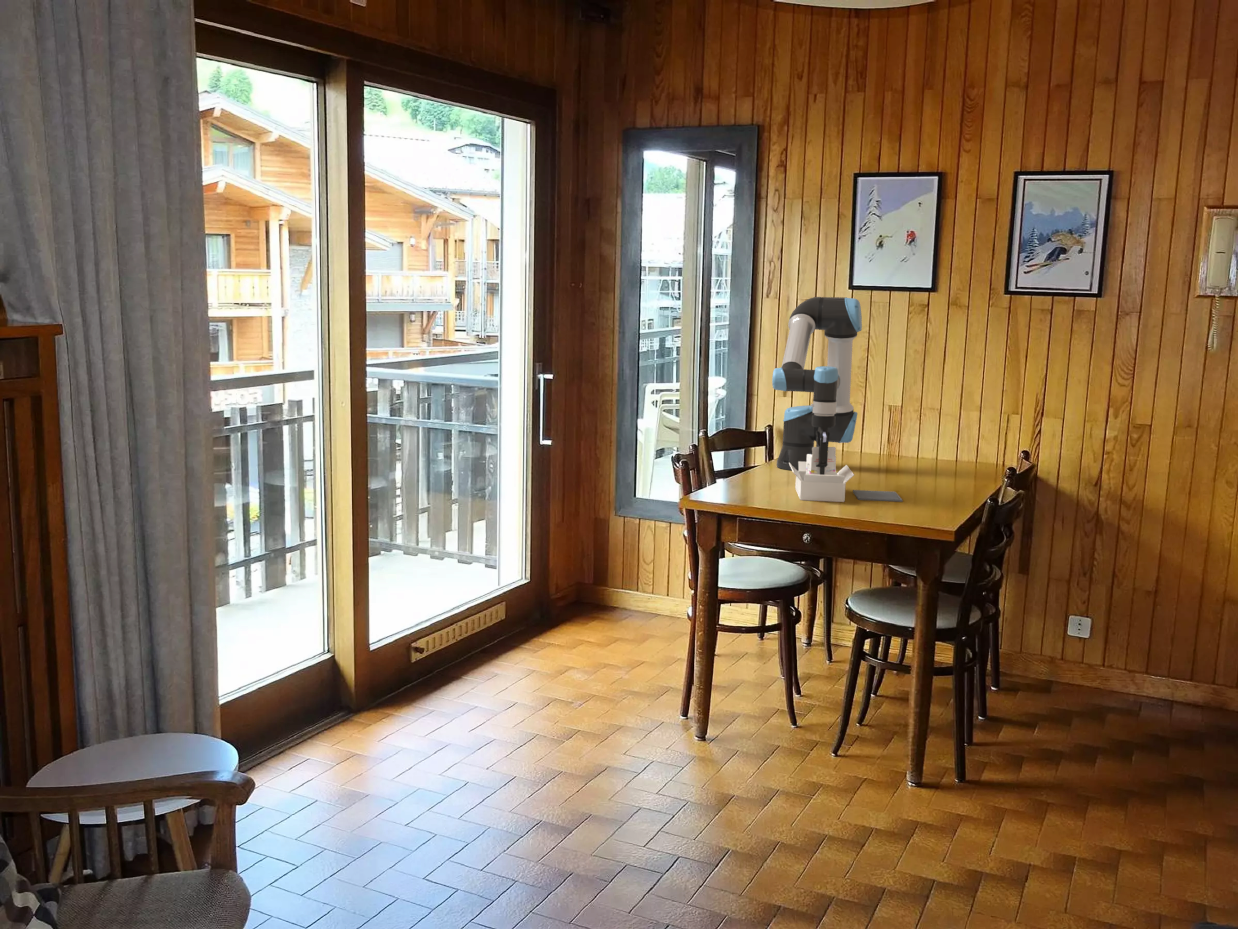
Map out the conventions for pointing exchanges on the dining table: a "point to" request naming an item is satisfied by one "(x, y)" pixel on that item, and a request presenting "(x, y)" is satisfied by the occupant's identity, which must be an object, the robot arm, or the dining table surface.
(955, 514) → the dining table surface
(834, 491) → the carton
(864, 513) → the dining table surface
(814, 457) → the ink cartridge box
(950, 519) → the dining table surface
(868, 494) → the mat
